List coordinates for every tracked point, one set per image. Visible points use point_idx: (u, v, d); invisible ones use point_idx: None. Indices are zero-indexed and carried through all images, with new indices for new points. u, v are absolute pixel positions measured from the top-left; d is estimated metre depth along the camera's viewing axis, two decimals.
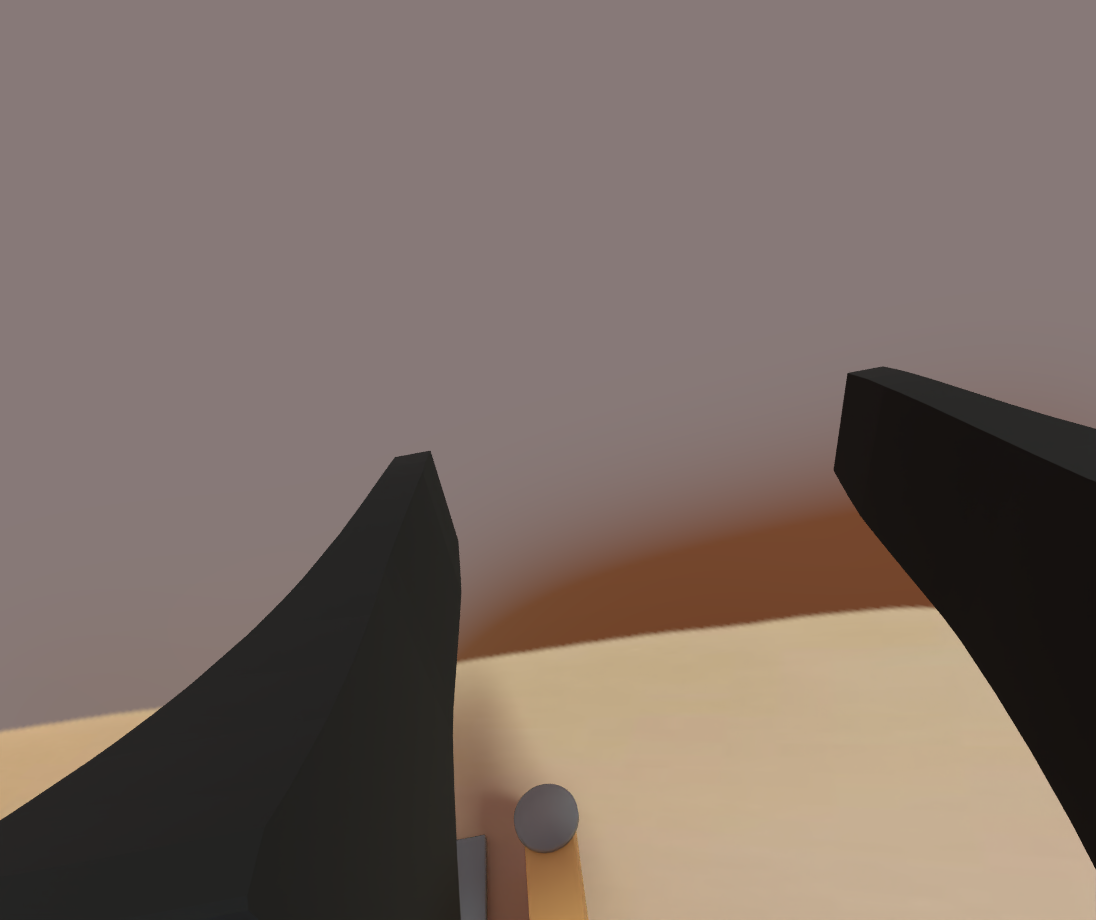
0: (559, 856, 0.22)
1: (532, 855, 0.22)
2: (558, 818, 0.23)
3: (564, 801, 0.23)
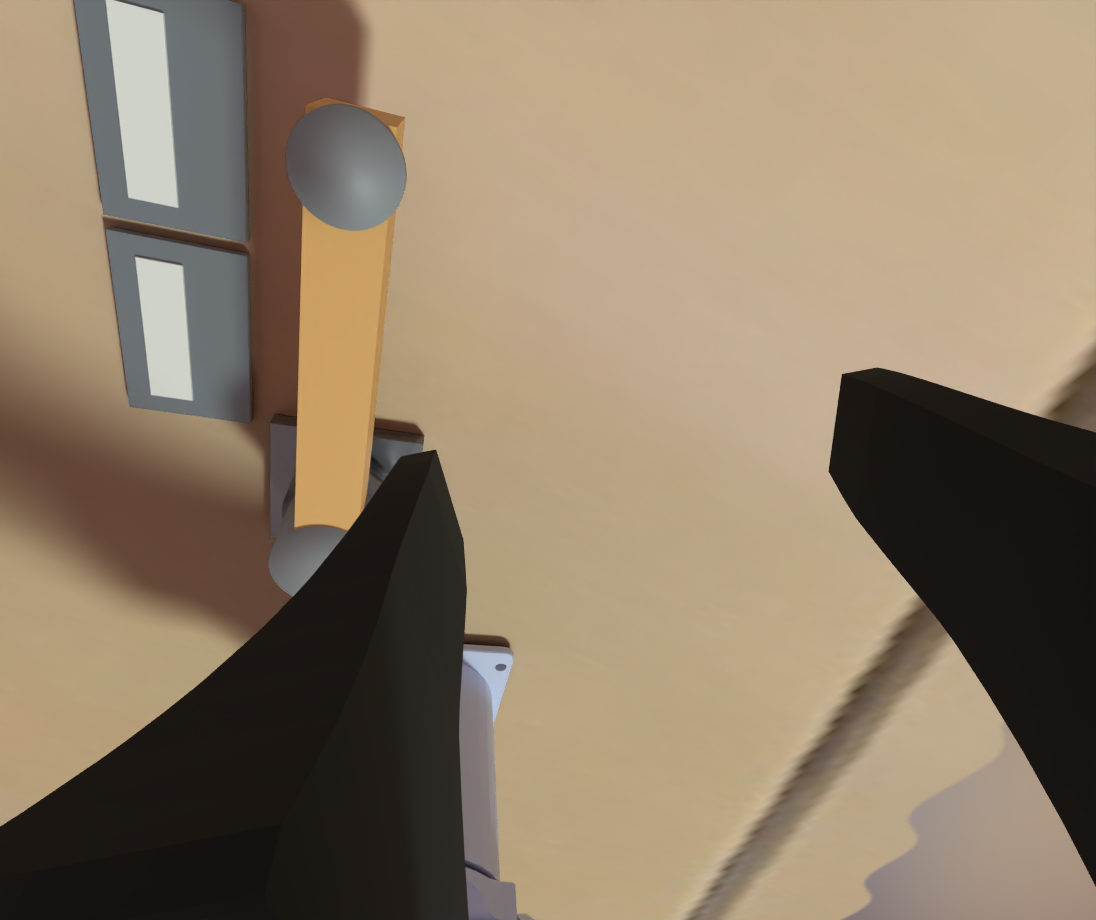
0: (359, 237, 0.14)
1: (314, 219, 0.14)
2: (368, 187, 0.13)
3: (385, 161, 0.13)
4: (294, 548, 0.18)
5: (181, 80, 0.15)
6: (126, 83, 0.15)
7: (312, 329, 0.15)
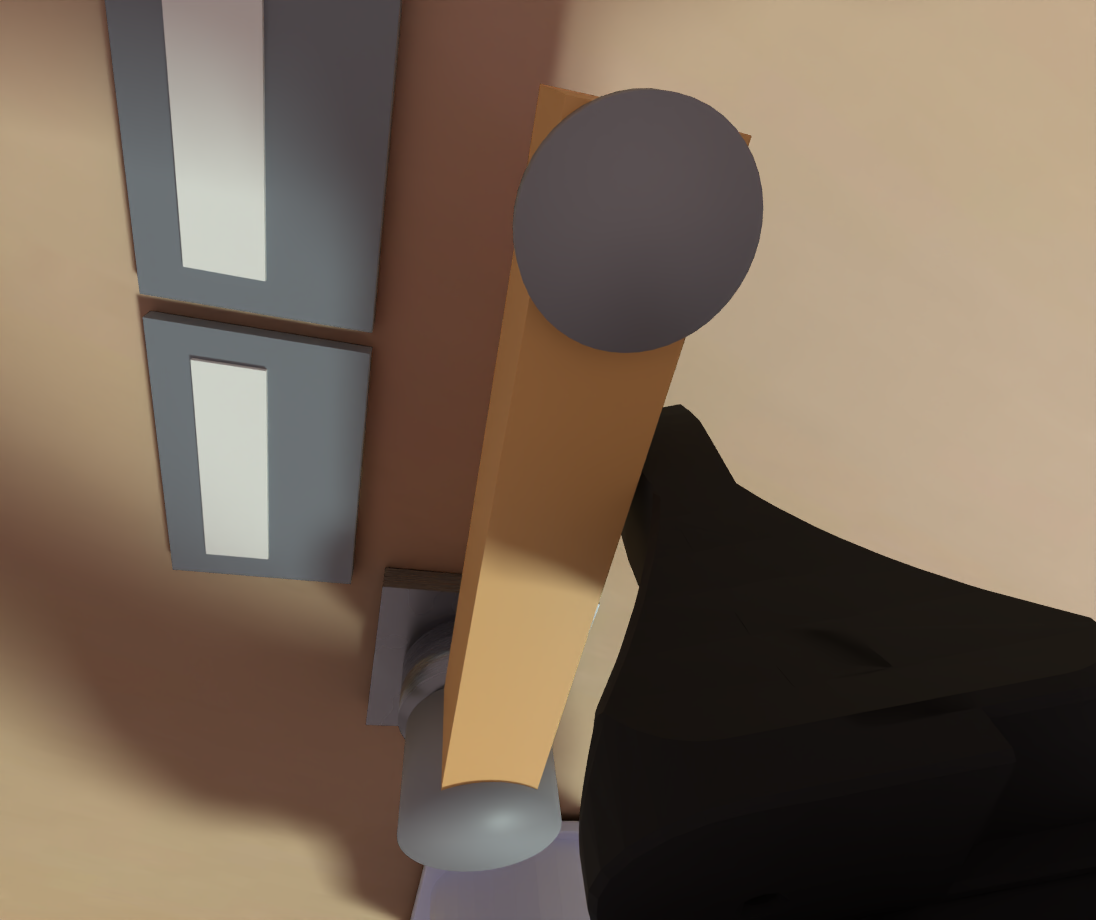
0: (628, 360, 0.07)
1: (547, 333, 0.07)
2: (677, 267, 0.06)
3: (725, 210, 0.06)
4: (439, 814, 0.12)
5: (286, 64, 0.08)
6: (187, 69, 0.08)
7: (513, 519, 0.08)
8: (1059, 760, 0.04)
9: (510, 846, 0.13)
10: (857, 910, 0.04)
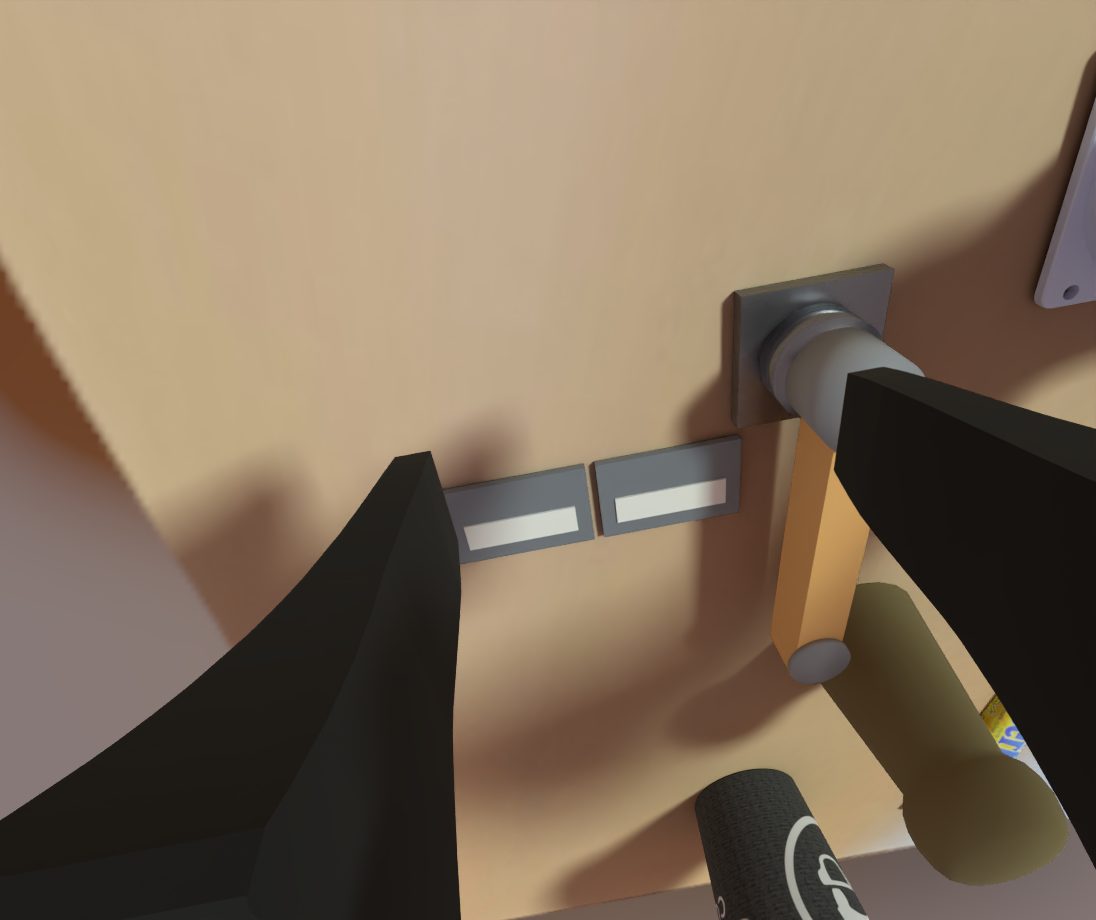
0: (814, 636, 0.24)
1: (837, 636, 0.24)
2: (810, 662, 0.24)
3: (800, 673, 0.24)
4: None
5: (495, 514, 0.24)
6: (510, 537, 0.25)
7: (847, 589, 0.22)
8: None
9: None
10: None
